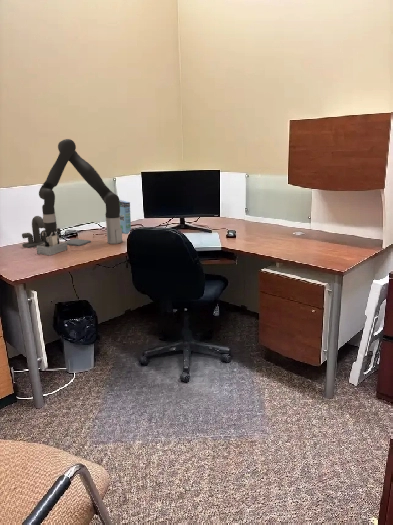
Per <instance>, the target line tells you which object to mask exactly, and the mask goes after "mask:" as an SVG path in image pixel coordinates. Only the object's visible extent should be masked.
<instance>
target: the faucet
mask: <svg viewBox="0 0 393 525" xmlns="http://www.w3.org/2000/svg"><path fill="white" fill-rule="evenodd" d="M40 229H43V230H41V231H40ZM31 230H32V233H30V232H23V233H21V237H22V239H27V241H28V242H23V243H22V245H21V246H22V247H23V248H27V249H31V248H36V246H37V245H40V244H43V243H45V242H42V237H41V232H45V229H44V223H43V216H40V215H34V217H32V220H31Z"/></svg>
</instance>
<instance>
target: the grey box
mask: <svg viewBox="0 0 393 525" xmlns="http://www.w3.org/2000/svg"><path fill="white" fill-rule="evenodd" d="M35 248H36V254H37V255H43V254H44V256H53V255H55V254H58V253H61V252H64V251H67V250H68V245H67V242H66V241H63V242H61V243H60V242H59V244H56V245H53V246H50V247H46V246H45V243H43V244H40V245H37V246H36V247H35Z"/></svg>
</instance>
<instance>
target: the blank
mask: <svg viewBox="0 0 393 525" xmlns="http://www.w3.org/2000/svg"><path fill="white" fill-rule="evenodd" d="M47 237H48V236H47ZM56 244H58V241H57V235H54V236H51V238H50V239H49V247H50V246H53V245H56Z"/></svg>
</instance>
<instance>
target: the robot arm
mask: <svg viewBox="0 0 393 525" xmlns="http://www.w3.org/2000/svg"><path fill="white" fill-rule="evenodd" d="M76 149H77V146H76V143H75V141H74V140H72V139H71V138H65V139H62V140H61V141H59V142H58V144H57V150H58V152H59V154H58V156H57V158H56V160H55V162H54V163H53V165H52V167H51V169H50V171H49V172H48V174H47V177H46V179H45V181H44V182H43V184H42V185H41V187H40V188H39V190H38V196H39V198H40V199H41V200H43V204H42V206H41V210H42V218H43V223H44V228H43V230H45V232H41V231H40V233H41V237H42V242H45V246H46V247H49V239H50V238H51V236H54V235H57V241H58V244H59V243H60V239H61V238H62V232H61V228H60V227H58V226H57V218H56V211H55V202H56V195H55V192H54V190H53V189H54V188H55V187H57V186H58V185H59V182H60V180H61V178H62V175H63V173H64V171H65V168H66V167H67V164H68V163H70V164H71V165H72V166H73V168H74V169H75V170H76V171H77V173H78V174H79V175H80V176H81V177H82V179H83V180H84V181H85V182H86V184H88V185H89V186H90V187H91V188H92V189H93V190H94V191H95V192H96V193H97V194H98V196H100V198H101V199H102V201H103V203H104V204H105V214H104V215H105V226H106V239H107V244H111V245H117V244H120V243H123V242H124V241H123V240H124V239H123V232H122V228H120V200H121V199H120V197H119V196H118V194H116V193H114V192H113V191H112V190H111V189H110V188H109V187H108V186H107V185H106V183H104V180H103V178H102V177H101V176H100V174H99V173H98V171H97V170H96V169H95V168H94V167H93V166H92V164H90V162H88V161H87V160H86V159H84V158H82V157H81V156H80V154H79V153H78V152H77V150H76ZM47 236H48V237H47ZM41 237H40V238H41Z"/></svg>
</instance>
